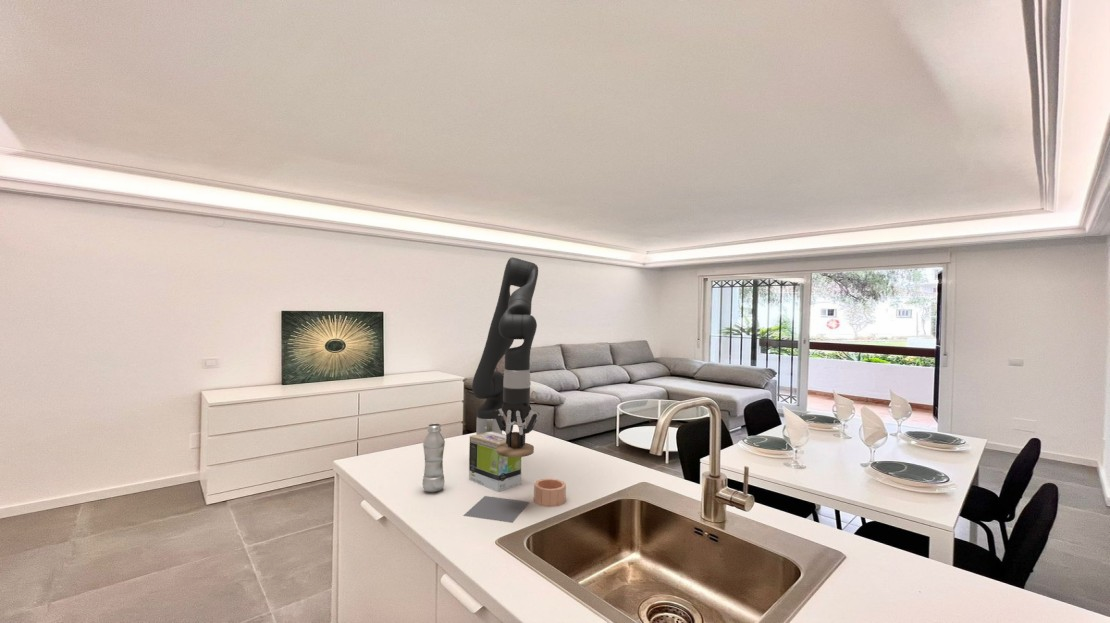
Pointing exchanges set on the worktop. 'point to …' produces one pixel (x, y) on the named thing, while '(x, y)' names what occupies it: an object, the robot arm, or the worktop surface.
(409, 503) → the worktop surface
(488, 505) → the mat
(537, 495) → the bowl
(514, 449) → the lid
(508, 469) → the tea box
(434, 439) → the plastic bottle
